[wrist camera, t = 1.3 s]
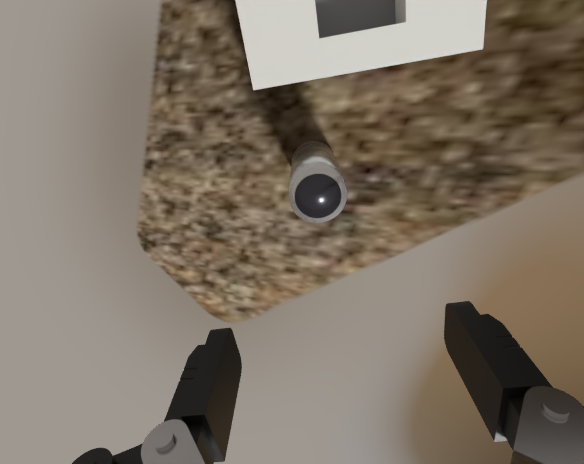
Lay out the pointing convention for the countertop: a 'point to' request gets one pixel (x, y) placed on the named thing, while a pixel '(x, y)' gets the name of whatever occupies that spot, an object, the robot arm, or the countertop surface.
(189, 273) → the countertop surface
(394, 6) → the white slotted plate
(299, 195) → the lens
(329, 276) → the countertop surface
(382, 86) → the countertop surface
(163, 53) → the countertop surface
